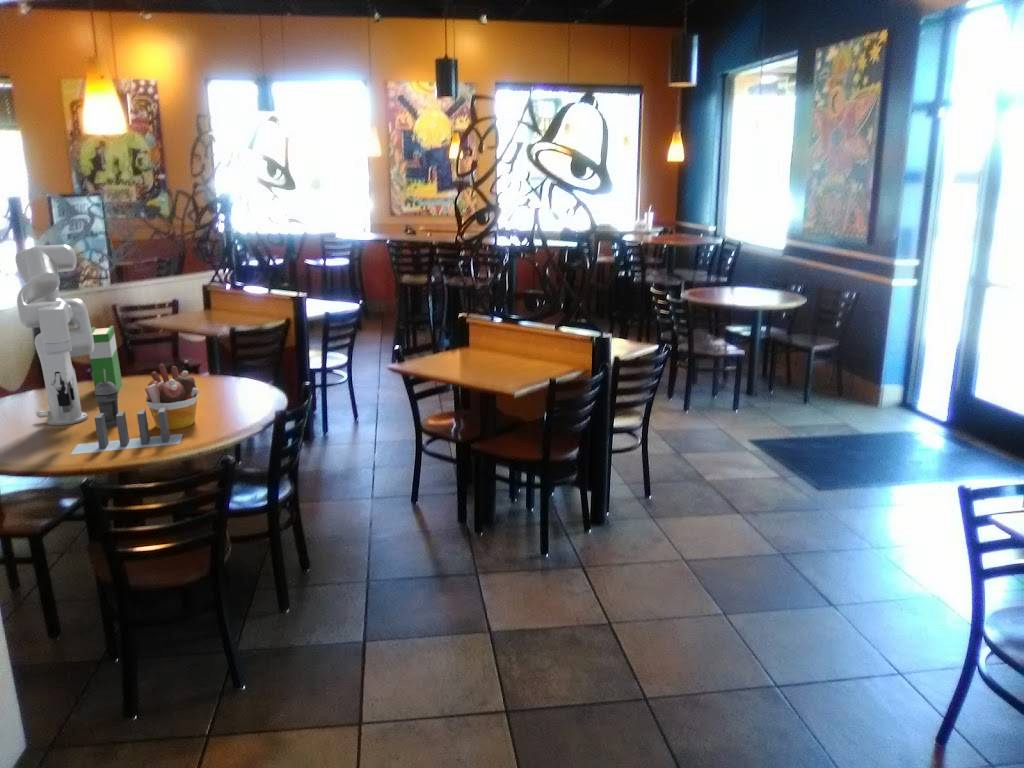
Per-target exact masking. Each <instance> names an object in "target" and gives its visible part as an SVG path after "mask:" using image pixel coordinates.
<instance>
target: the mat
mask: <svg viewBox="0 0 1024 768" xmlns="http://www.w3.org/2000/svg"><path fill="white" fill-rule="evenodd" d="M183 435H184V433H177V434H176V433H175V434H170V439H169V442H166V443H162V438H161V435H157V436H156V435H155V436H150V440H149V442H148V444H146V445H141V438H140V437H137V438H129V443H128V445H127V446H126V447H120V440H119V439H117V440H108V442H109V444H108V446H107V447H106V449H99V443H98V441H96V442H87V443H78V444H76V446H75V447H74V449H73V450H72V452H71V453H70V455H71V456H72V455H80V454H81V455H82V454H90V453H91V454H92V453H100V452H110V451H120V450H121V451H122V450H130V449H140V448H149V447H158V446H159V447H160V446H171V445H180V444H181V441H182V439H183V438H182V437H183Z"/></svg>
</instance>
